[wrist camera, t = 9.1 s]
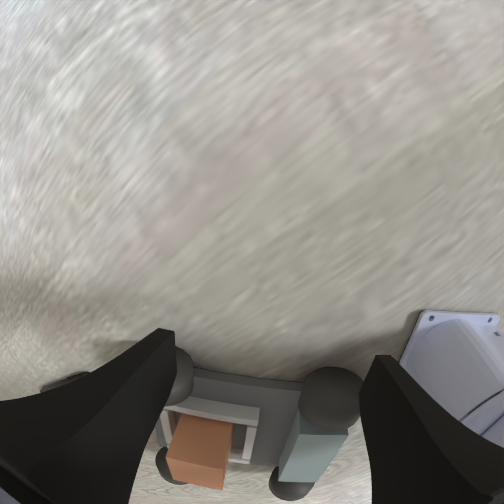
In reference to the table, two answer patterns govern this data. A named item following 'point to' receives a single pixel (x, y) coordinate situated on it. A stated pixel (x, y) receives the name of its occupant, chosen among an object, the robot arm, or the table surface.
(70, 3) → the table surface
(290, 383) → the chassis
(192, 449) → the block
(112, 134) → the table surface
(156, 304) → the table surface
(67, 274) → the table surface
